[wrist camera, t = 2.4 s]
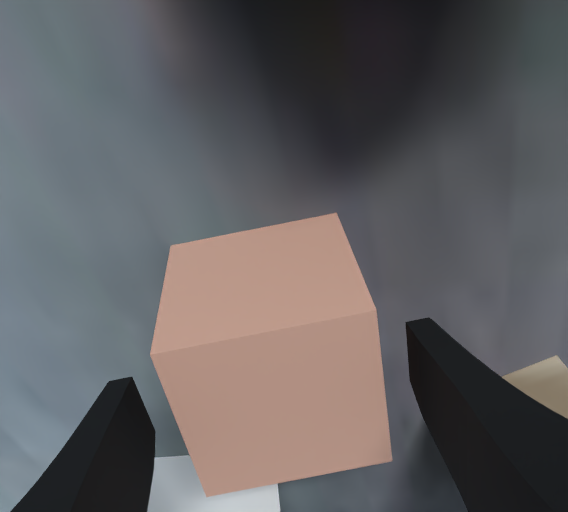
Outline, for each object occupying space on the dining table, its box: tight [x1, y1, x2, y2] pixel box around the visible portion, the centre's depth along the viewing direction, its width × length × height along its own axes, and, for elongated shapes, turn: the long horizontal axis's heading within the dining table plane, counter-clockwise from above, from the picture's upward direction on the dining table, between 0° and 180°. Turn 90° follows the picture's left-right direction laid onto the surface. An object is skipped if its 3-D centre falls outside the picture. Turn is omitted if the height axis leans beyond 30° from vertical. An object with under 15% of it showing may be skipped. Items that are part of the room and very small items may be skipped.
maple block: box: [502, 355, 568, 419], centre depth 19 cm, size 5×5×5 cm
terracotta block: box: [150, 213, 392, 497], centre depth 15 cm, size 5×5×5 cm
